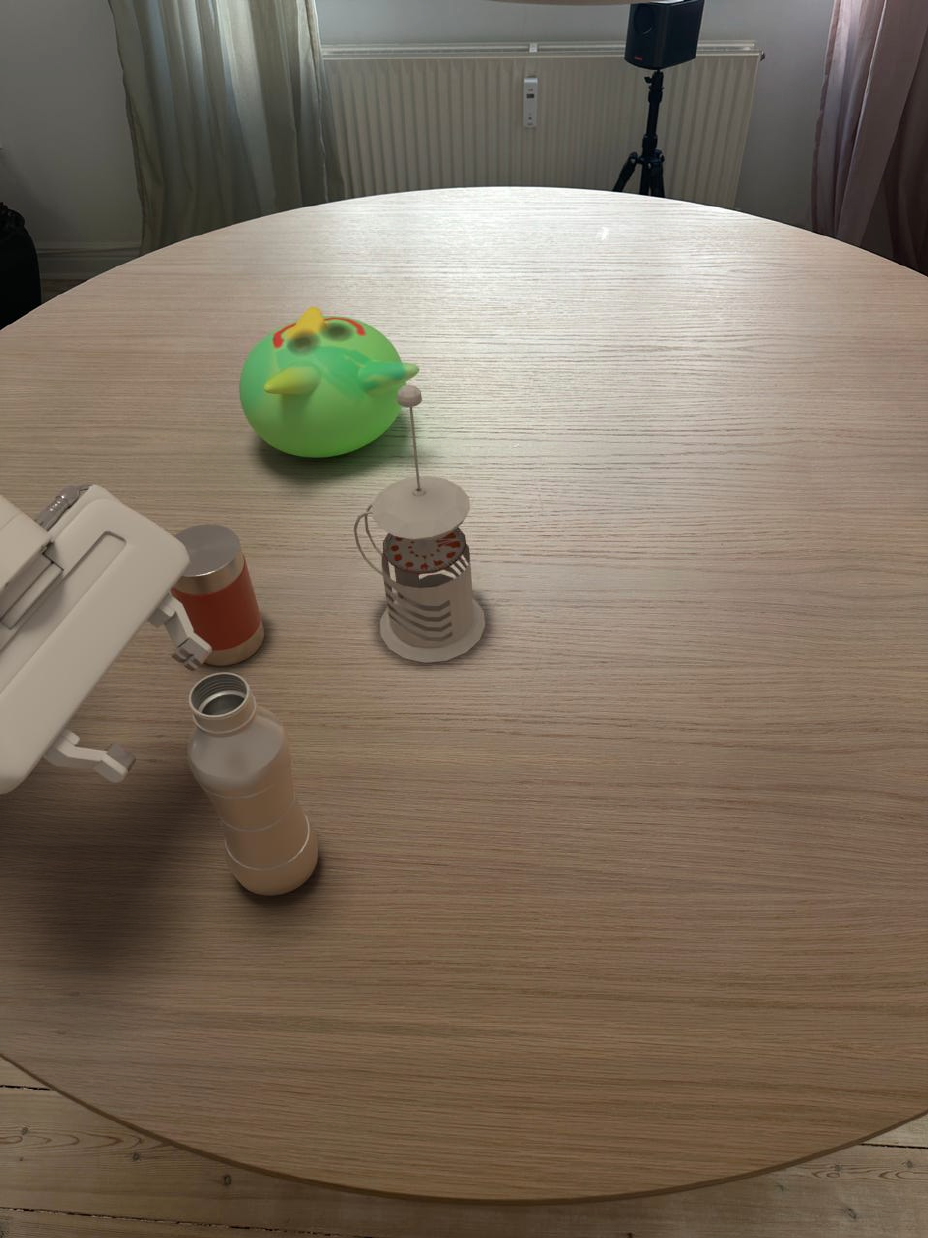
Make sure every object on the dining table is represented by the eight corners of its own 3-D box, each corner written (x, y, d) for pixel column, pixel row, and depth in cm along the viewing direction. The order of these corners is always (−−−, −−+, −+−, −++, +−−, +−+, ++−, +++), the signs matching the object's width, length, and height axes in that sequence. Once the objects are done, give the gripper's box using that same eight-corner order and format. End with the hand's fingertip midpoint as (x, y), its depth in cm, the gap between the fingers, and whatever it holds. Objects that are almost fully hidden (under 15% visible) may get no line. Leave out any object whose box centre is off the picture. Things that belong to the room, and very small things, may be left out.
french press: (452, 677, 86) (432, 438, 68) (342, 634, 90) (295, 399, 72) (504, 606, 91) (498, 369, 74) (398, 568, 96) (368, 336, 78)
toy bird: (384, 386, 119) (370, 270, 108) (435, 461, 108) (425, 341, 97) (239, 424, 114) (210, 307, 104) (276, 507, 103) (248, 385, 93)
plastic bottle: (259, 820, 76) (197, 644, 62) (338, 843, 74) (293, 668, 60) (218, 892, 72) (141, 721, 58) (300, 918, 70) (242, 749, 56)
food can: (185, 669, 88) (152, 579, 80) (197, 615, 93) (166, 525, 85) (261, 664, 88) (234, 574, 80) (269, 611, 92) (244, 521, 85)
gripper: (63, 492, 67) (222, 619, 72) (-154, 717, 54) (57, 856, 58) (97, 448, 63) (264, 586, 67) (-130, 680, 50) (96, 834, 54)
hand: (167, 713), depth 63 cm, fingers open, 8 cm apart
